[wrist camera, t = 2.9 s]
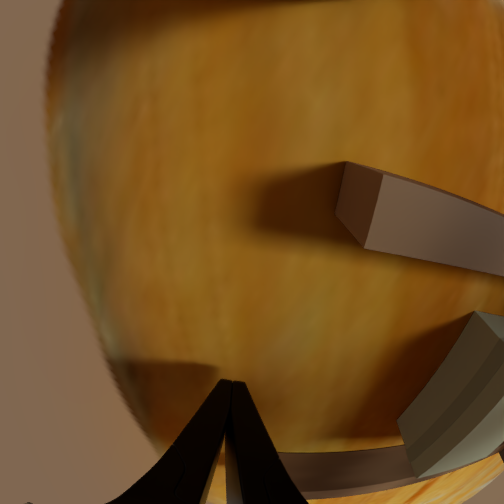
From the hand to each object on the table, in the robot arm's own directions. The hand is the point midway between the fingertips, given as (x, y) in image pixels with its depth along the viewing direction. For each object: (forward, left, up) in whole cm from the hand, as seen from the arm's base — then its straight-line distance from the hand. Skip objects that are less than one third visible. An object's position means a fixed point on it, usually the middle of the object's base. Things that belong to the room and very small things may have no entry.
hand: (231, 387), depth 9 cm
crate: (-12, 0, -1) cm, 12 cm away
